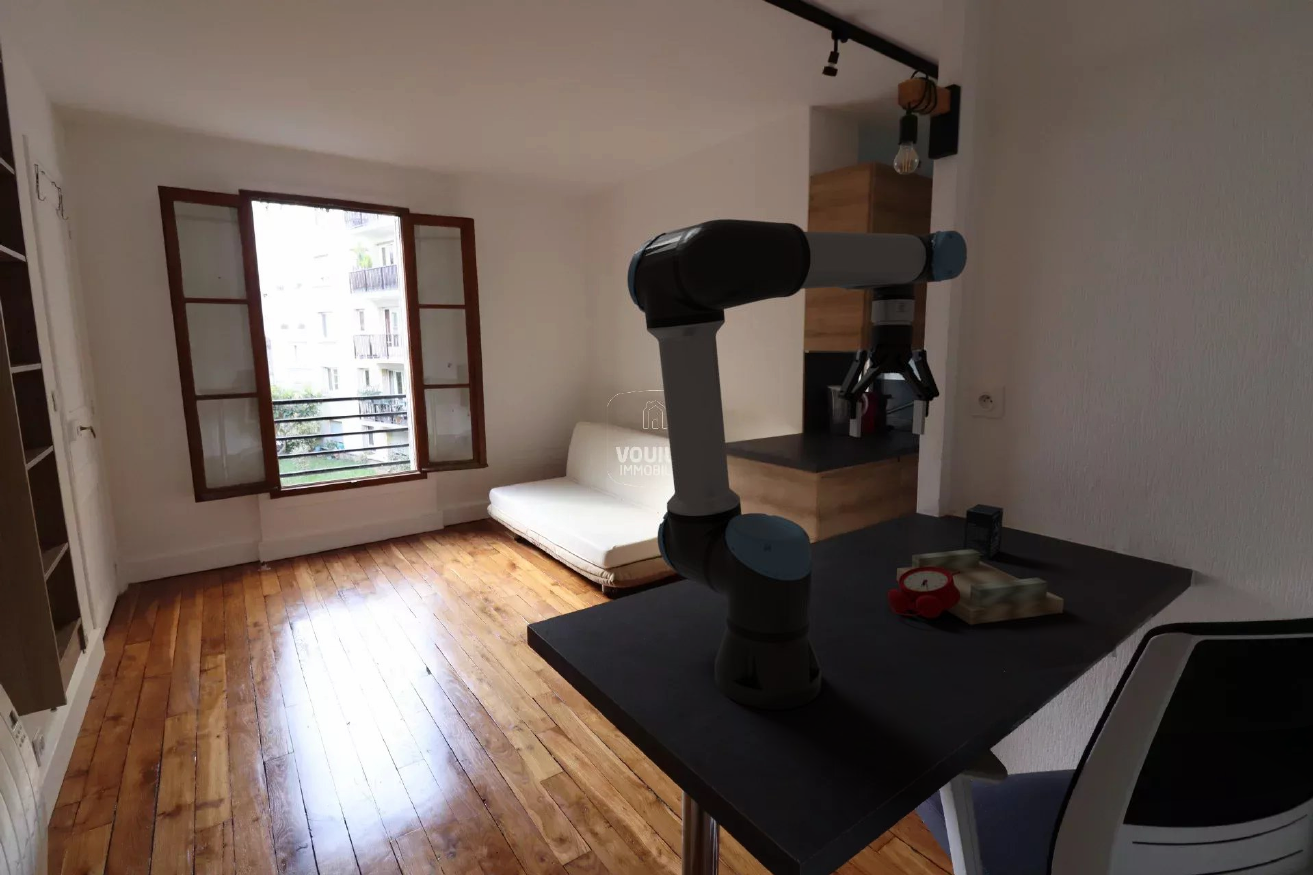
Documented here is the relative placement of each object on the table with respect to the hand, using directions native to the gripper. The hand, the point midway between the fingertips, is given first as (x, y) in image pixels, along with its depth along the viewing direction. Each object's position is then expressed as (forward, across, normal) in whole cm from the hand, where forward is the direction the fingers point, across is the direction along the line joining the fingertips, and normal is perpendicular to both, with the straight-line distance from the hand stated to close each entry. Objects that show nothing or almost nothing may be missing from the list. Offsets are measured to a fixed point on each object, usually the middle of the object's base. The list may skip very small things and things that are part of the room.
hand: (886, 435), depth 119 cm
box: (+30, +33, +11) cm, 46 cm away
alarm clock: (+27, +7, -9) cm, 29 cm away
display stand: (+30, +14, -9) cm, 35 cm away
